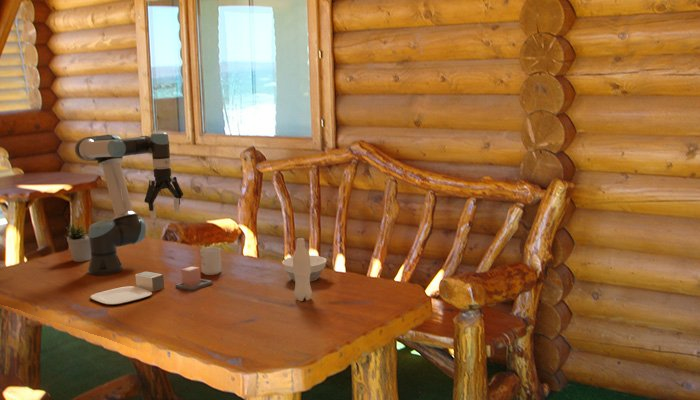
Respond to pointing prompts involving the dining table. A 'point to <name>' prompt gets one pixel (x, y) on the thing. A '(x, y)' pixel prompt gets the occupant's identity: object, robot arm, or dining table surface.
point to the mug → (211, 260)
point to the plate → (121, 295)
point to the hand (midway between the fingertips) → (165, 215)
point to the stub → (191, 276)
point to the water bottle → (302, 271)
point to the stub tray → (195, 287)
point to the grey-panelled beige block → (149, 281)
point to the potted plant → (79, 244)
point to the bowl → (315, 265)
